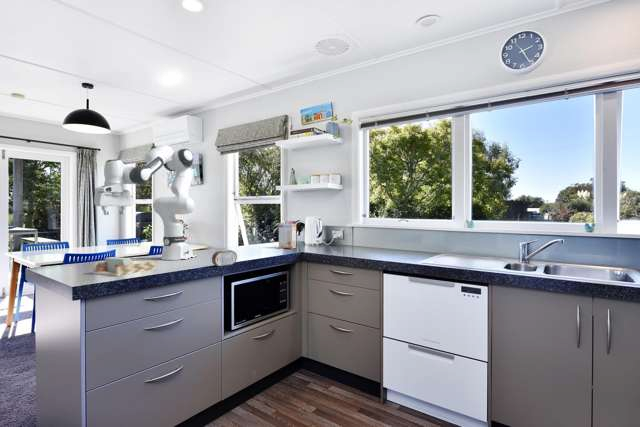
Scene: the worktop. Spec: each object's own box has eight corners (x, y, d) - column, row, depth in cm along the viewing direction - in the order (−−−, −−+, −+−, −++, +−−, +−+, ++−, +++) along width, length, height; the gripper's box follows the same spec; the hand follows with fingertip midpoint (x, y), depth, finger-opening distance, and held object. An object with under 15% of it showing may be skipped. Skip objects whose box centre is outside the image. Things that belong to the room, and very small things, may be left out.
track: (131, 266, 183) (132, 257, 183) (155, 268, 178) (155, 259, 178) (92, 273, 162) (92, 263, 162) (117, 276, 157) (117, 265, 157)
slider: (112, 269, 170) (112, 257, 170) (130, 270, 166) (130, 258, 166) (104, 270, 166) (104, 258, 166) (123, 271, 162) (123, 259, 162)
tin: (234, 263, 197) (234, 249, 197) (237, 264, 195) (237, 249, 195) (211, 266, 186) (211, 251, 186) (214, 267, 184) (214, 251, 184)
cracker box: (296, 249, 280) (296, 223, 280) (292, 249, 275) (292, 223, 275) (282, 247, 287) (283, 223, 287) (278, 248, 282) (278, 223, 282)
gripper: (125, 190, 195) (126, 214, 195) (91, 188, 176) (92, 215, 176) (134, 190, 193) (134, 214, 193) (101, 188, 174) (101, 215, 174)
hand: (114, 214), depth 185 cm, fingers open, 8 cm apart
